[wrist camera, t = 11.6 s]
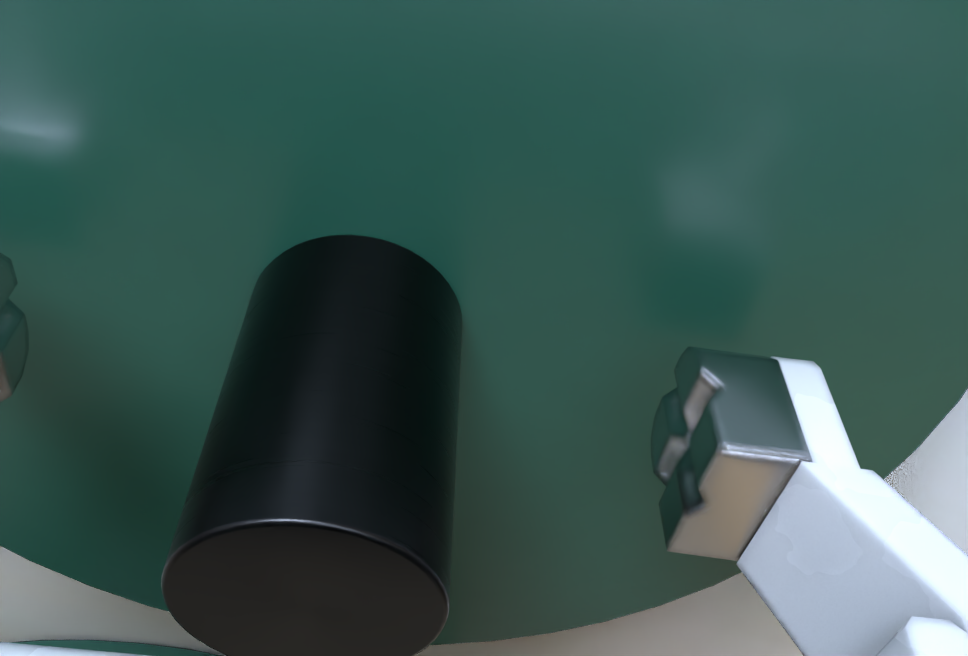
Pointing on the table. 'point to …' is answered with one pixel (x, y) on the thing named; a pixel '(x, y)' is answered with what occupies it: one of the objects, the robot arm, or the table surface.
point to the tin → (119, 647)
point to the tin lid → (449, 289)
